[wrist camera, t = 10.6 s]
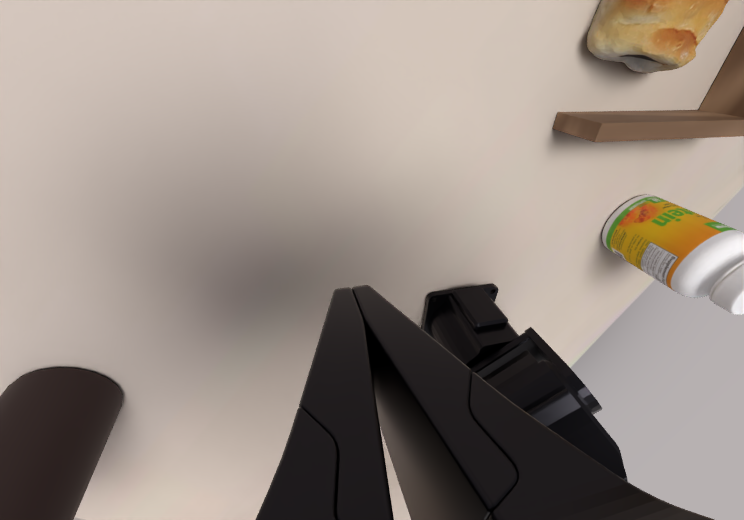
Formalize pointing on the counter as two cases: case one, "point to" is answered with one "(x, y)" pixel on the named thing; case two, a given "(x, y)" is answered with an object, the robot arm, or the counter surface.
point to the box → (671, 113)
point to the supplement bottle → (680, 249)
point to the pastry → (651, 31)
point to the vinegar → (52, 440)
